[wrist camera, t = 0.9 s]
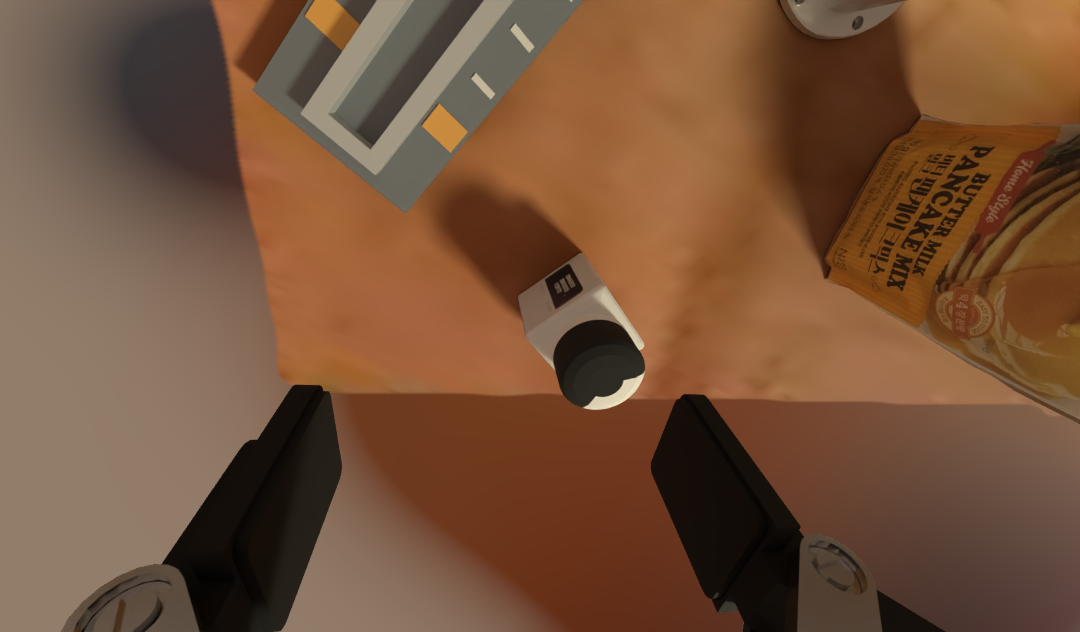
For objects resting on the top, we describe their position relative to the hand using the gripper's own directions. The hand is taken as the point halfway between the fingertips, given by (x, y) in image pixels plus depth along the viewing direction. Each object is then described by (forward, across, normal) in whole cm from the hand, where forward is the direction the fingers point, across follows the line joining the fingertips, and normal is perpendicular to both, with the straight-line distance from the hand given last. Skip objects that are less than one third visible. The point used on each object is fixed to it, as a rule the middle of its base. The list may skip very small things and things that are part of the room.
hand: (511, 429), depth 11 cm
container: (+27, -8, +9) cm, 29 cm away
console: (+26, +4, -12) cm, 29 cm away
